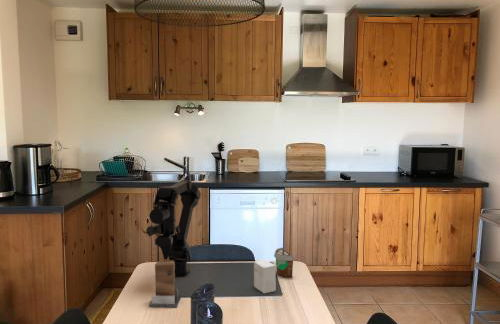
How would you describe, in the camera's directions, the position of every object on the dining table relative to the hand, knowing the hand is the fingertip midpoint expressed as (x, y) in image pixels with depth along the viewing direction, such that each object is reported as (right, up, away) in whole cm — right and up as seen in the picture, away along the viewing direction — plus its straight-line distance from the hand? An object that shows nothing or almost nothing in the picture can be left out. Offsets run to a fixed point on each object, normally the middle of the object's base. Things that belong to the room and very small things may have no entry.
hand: (168, 255), depth 167 cm
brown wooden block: (+2, -13, -16) cm, 20 cm away
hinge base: (+2, -14, -16) cm, 21 cm away
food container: (+47, -11, +13) cm, 50 cm away
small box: (+39, -13, -3) cm, 41 cm away
